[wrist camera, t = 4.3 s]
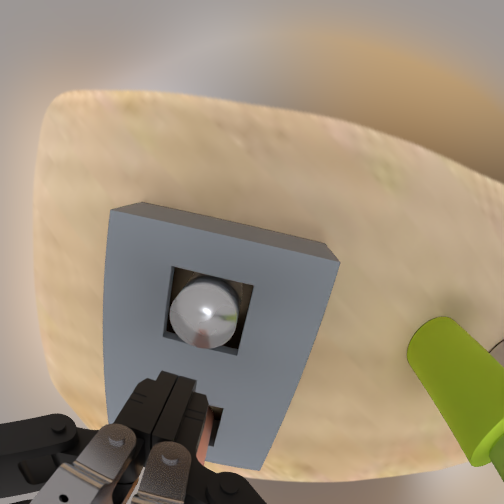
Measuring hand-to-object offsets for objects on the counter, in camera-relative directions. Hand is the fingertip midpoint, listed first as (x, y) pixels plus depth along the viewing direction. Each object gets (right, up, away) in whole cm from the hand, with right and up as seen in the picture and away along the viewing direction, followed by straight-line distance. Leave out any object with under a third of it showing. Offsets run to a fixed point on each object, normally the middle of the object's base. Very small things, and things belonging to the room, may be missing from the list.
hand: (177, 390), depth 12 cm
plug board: (-1, -1, +13) cm, 13 cm away
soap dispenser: (+20, -3, +12) cm, 23 cm away
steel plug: (0, +3, +11) cm, 11 cm away
